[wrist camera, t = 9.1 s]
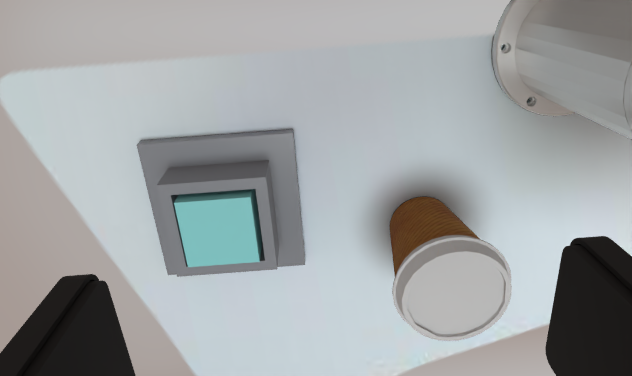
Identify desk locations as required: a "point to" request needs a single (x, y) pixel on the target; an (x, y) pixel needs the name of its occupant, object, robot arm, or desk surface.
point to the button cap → (219, 227)
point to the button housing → (227, 175)
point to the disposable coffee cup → (445, 273)
